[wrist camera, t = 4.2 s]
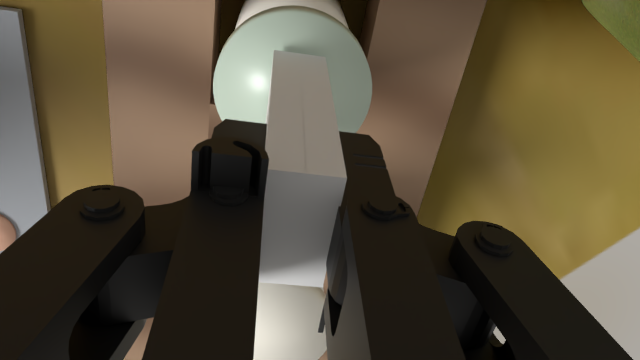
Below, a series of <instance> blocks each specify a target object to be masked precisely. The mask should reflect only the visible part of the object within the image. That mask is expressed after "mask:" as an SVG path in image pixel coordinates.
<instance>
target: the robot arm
mask: <svg viewBox="0 0 640 360" xmlns="http://www.w3.org/2000/svg"><path fill="white" fill-rule="evenodd" d="M383 158H384V157H383V154H382V150H381V147H380V145H379V144H378V143H377V142H376V141H375V140H374V139H373V138H372V137H371V136H370V135H366V134H358V133H350V132H342V131H339V130H338V124H337V119H336V113H335V108H334V102H333V96H332V91H331V85H330V80H329V74H328V69H327V63H326V57H322V56H315V55H308V54H301V53H293V52H286V51H279V50H274V53H273V62H272V70H271V79H270V88H269V96H268V105H267V114H266V122H265V124H264V123H255V122H247V121H239V120H231V119H225V120H224V121H222V122H221V123H220V124H218V125H217V126H216V127H214V130H213V134H212V137H211V139H206V140H204V141H202V142H200V143H198V144H197V145H196V146H195V147H194V149H193V150H192V163H191V191H190V195H189V196H188V197H186V198H184V199H182V200H179V201H176V202H173V203H168V204H162V205H154V206H144V202H143V199H142V198H141V197H140V196H139V195H138V194H137V193H136V192H135V191H132V190H130V189H127V188H125V187H121V186H113V185H98V186H91V187H87V188H84V189H81V190H77V191H75V192H74V193H72V194H70V195H69V196H67V197H65V198H64V199H63V200H62V201H61V202H59V203H58V204H57V205H56V206H55V207H54V208H52V209H51V210H50V211H49V212H48V213H47V214H46V215H44V216H43V217H42V218H41V219H40V220H39V221H37V222H36V223H35V224H34V225H33V226H32V227H31V228H29V229H28V230H27V231H26V232H25V233H24V234H22V235H21V236H20V237H19V238H18V239H17V240H15V241H14V242H13V243H12V244H11V245H10V246H9V247H7V248H6V249H5V250H4V251H3V252H2V253H0V360H123V359H124V358H125V356H126V354H127V353H128V351H129V350H130V348H131V347H132V345H133V344H134V342H135V340H136V339H137V337H138V336H139V334H140V333H141V331H142V330H143V328H144V326H145V323H146V320H147V319H148V318H153V317H154V319H153V322H152V326H151V329H150V333H149V336H148V340H147V343H146V347H145V350H144V354H143V357H142V360H253V357H254V342H255V327H256V313H257V298H258V283H259V282H261V283H274V284H286V285H298V286H310V287H322V288H323V284H324V279H325V275H326V270H327V280H328V288H327V293H326V297H325V301H324V306H323V310H322V314H321V319H320V323H319V328H318V333H323V331H324V327H325V332H326V346H327V359H328V360H633V359H632V358H631V357H630V356H629V355H628V354H627V353H626V351H624V349H623V348H622V347H621V346H620V345H619V344H618V343H617V342H616V341H615V340H614V339H613V338H612V336H611V335H610V334H609V333H608V332H607V331H606V330H605V329H604V328H603V327H602V326H601V324H600V323H599V322H598V321H597V320H596V319H595V318H594V317H593V316H592V315H591V314H590V313H589V312H588V310H587V309H586V308H585V307H584V306H583V305H582V304H581V303H580V302H579V301H578V300H577V299H576V298H575V296H573V294H572V293H571V292H570V291H569V290H568V289H567V288H566V287H565V286H564V285H563V284H562V282H561V281H560V280H559V279H558V278H557V277H556V276H555V275H554V274H553V273H552V272H551V271H550V270H549V268H548V267H547V266H546V265H545V264H544V263H543V262H542V261H541V260H540V259H539V258H538V257H537V256H536V254H535V253H534V252H533V251H532V250H531V249H530V248H529V247H528V246H527V245H526V244H525V243H524V242H523V241H522V240H521V239H520V238H519V237H518V236H516V235H515V234H514V233H513V232H511V231H509V230H507V229H505V228H503V227H502V226H500V225H497V224H493V223H490V222H483V221H471V222H467V223H464V224H463V225H461V226H460V227H459V228H458V230H457V233H456V235H455V237H454V236H451V235H448V234H445V233H441V232H438V231H435V230H432V229H429V228H427V227H424V226H422V225H420V224H419V223H418V220H417V218H416V215H415V212H414V211H413V209H412V208H411V206H410V205H409V204H408V203H406V202H405V201H404V200H402V199H401V198H399V197H397V196H396V195H395V192H394V189H393V186H392V182H391V179H390V176H389V173H388V170H387V169H386V167H387V166H386V163H385V160H384V159H383ZM496 326H497V328H498V329H499V331H500V332H501V333H502V335H503V336H504V337H505V339H506V341H505V343H504V344H502V343H500V341H499V340H498V339H497V338H496V336H495V335H494V334H493V331H494V329H495V327H496Z"/></svg>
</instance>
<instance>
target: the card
mask: <svg viewBox="0 0 640 360" xmlns="http://www.w3.org/2000/svg"><path fill="white" fill-rule="evenodd" d="M50 210H51V207H50V200H49V193H48V186H47V180H46V173H45V166H44V159H43V152H42V145H41V138H40V132H39V125H38V118H37V111H36V104H35V97H34V90H33V84H32V77H31V70H30V63H29V56H28V49H27V42H26V36H25V29H24V22H23V15H22V9H16V8H9V7H1V6H0V253H2V252H3V251H4V250H5V249H6V248H7V247H9V246H10V245H11V244H12V243H13V242H14V241H15V240H17V239H18V238H19V237H20V236H21V235H22V234H24V233H25V232H26V231H27V230H28V229H29V228H31V227H32V226H33V225H34V224H35V223H36V222H37V221H39V220H40V219H41V218H42V217H43V216H44V215H46V214H47V213H48V212H49V211H50Z"/></svg>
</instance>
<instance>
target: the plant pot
mask: <svg viewBox="0 0 640 360" xmlns="http://www.w3.org/2000/svg"><path fill="white" fill-rule="evenodd" d="M582 3H583V5H584V6H585V7H586V9H587V10H588V11H589V12H590V13H591V14H592V15H593V16H594V17H595V19H596V20H597V21H598V22H599V23H600V24H601V25H602V26H603V27H605V28H606V29H607V30H608V31H609V32H610V33H611V34H612V35H613V36H614V37H615V38H616V39H617V40H618V41H619V42H620V43H621V44H622V45H623V46H624V47H625V48H626V49H627V50H628V51H629V52H630V53H631V54H632V55H633V56H634V57H635V58H636V59H637V60H638V61H639V62H640V0H582Z"/></svg>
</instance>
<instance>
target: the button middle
mask: <svg viewBox="0 0 640 360" xmlns="http://www.w3.org/2000/svg"><path fill="white" fill-rule="evenodd" d="M325 297H326V295H325V293H324V289H323V288H322V287H310V286H298V285H286V284H274V283H261V282H259V283H258V298H257V313H256V327H255V342H254V357H253V360H318V359H319V358H320V357H321V356H322V355H323V354H324V352H325V351H326V350H327V346H326V332H325V327H324V331H323V333H318V328H319V323H320V319H321V314H322V310H323V306H324V301H325Z"/></svg>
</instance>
